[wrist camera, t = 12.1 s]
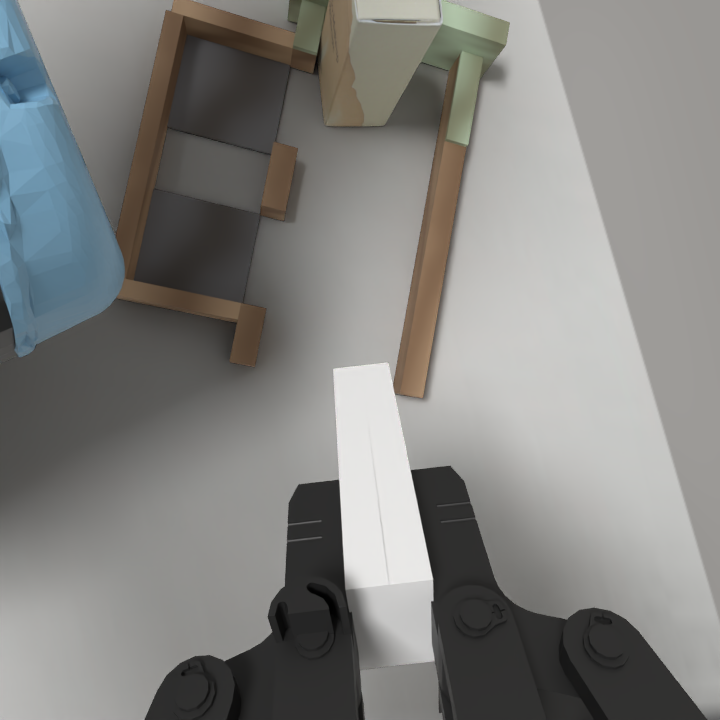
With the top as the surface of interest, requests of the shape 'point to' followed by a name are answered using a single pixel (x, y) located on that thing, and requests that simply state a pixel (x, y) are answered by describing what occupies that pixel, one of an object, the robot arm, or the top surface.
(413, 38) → the box
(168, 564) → the top surface
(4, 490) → the top surface
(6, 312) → the robot arm
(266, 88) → the brown green flat frame
